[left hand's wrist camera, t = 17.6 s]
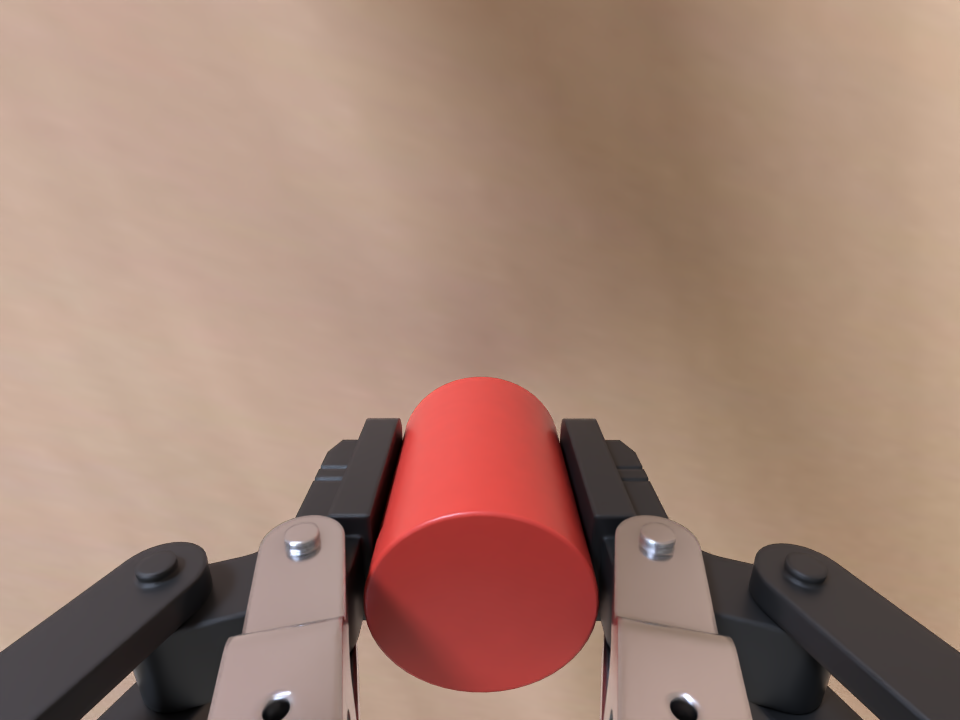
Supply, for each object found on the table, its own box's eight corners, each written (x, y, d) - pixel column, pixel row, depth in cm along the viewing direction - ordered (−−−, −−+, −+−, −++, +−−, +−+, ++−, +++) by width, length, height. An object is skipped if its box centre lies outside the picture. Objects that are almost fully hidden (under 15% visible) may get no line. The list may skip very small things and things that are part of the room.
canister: (406, 369, 12) (362, 504, 8) (567, 382, 12) (619, 521, 8) (401, 504, 14) (361, 687, 9) (547, 514, 14) (580, 701, 9)
